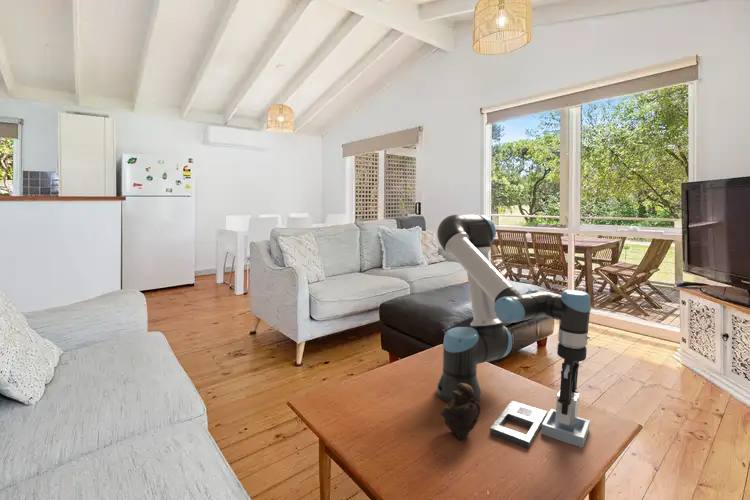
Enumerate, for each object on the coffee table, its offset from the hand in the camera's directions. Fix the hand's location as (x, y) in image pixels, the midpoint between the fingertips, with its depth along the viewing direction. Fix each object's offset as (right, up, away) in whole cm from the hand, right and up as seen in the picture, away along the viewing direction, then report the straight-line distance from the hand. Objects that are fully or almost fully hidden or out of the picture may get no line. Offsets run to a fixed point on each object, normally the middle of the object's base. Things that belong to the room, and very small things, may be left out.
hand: (566, 418), depth 115 cm
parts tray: (0, -4, +1) cm, 4 cm away
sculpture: (-32, -4, -2) cm, 32 cm away
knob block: (0, -2, 0) cm, 2 cm away
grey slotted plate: (-13, -4, +4) cm, 14 cm away
